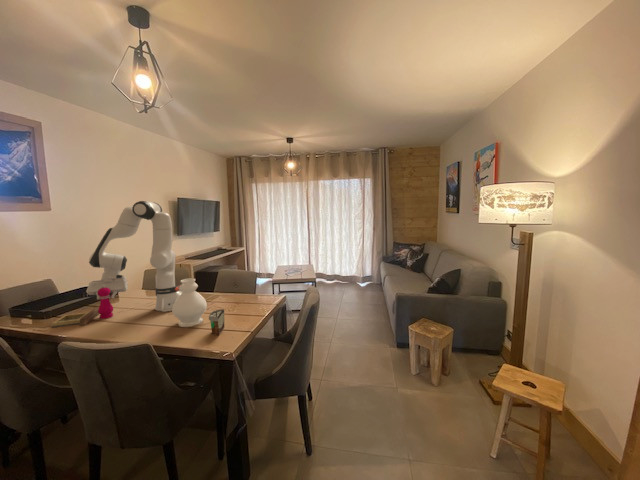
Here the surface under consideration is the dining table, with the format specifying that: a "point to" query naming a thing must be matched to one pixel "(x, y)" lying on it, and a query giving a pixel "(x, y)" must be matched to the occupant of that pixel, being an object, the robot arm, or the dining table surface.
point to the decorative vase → (189, 304)
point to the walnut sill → (89, 316)
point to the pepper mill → (105, 303)
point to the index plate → (68, 320)
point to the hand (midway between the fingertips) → (105, 298)
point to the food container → (217, 321)
